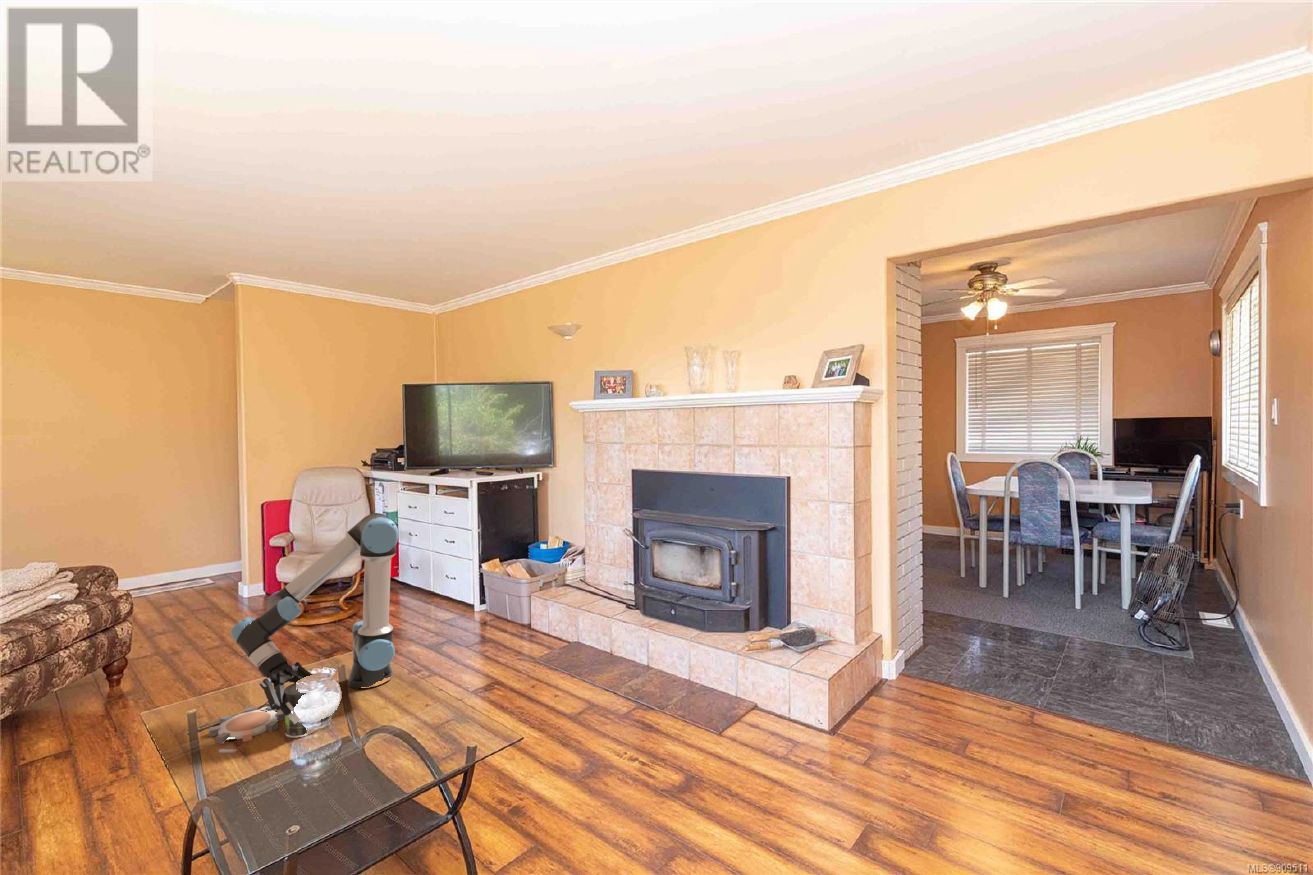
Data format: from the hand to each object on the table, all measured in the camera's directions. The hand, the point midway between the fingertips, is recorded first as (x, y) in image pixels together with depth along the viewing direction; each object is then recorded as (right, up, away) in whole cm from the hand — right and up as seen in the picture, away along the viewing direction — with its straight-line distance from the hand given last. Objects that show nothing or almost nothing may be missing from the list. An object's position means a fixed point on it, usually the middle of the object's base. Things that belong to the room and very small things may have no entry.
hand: (311, 712), depth 190 cm
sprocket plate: (-22, -6, +3) cm, 23 cm away
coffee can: (-3, -6, +1) cm, 7 cm away
